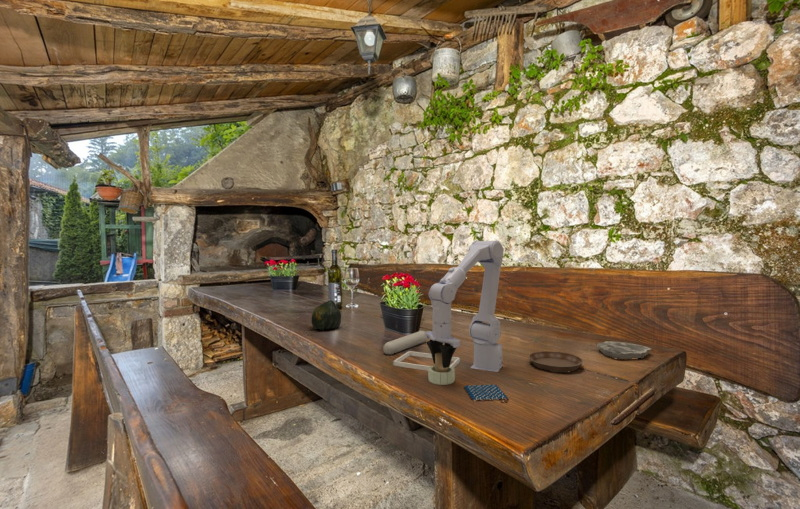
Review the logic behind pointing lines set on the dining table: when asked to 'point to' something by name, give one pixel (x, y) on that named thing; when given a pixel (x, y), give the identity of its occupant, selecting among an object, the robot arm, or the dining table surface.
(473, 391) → the woven mat
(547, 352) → the plant saucer
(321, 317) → the squash
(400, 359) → the beige rectangular frame
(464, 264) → the robot arm
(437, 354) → the dowel pin
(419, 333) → the tube
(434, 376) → the pale green short ring
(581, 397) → the dining table surface
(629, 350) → the grey stone slab
